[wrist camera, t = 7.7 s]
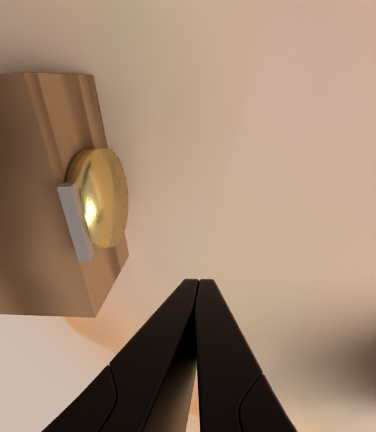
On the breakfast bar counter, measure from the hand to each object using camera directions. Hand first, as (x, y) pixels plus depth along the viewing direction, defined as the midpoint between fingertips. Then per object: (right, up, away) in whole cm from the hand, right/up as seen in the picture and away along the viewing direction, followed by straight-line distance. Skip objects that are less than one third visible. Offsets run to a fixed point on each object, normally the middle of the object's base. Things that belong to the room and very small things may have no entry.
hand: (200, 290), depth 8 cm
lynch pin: (-9, +4, +10) cm, 14 cm away
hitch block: (-8, +5, +10) cm, 14 cm away
